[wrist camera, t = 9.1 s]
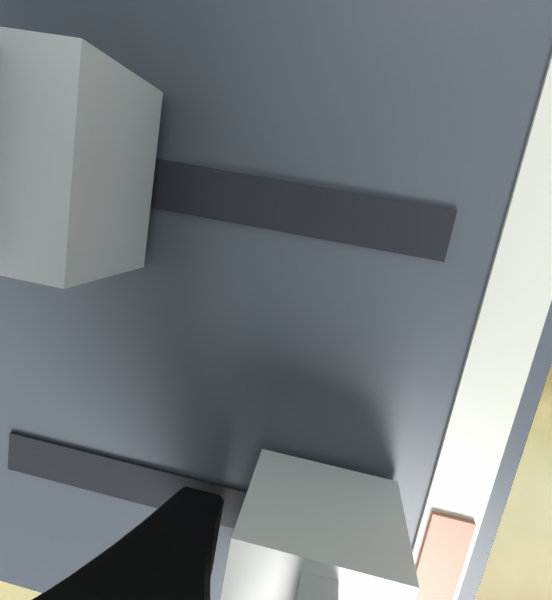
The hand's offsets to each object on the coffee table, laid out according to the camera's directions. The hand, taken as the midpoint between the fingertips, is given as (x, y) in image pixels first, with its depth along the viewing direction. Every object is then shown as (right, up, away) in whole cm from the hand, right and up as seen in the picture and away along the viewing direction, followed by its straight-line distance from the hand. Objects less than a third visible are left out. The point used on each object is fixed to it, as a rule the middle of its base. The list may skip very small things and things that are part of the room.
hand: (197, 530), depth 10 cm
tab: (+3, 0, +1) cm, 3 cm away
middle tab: (-2, +8, 0) cm, 8 cm away
